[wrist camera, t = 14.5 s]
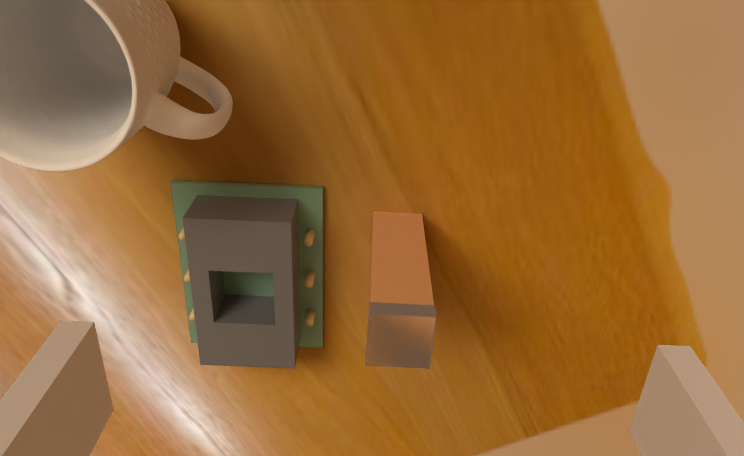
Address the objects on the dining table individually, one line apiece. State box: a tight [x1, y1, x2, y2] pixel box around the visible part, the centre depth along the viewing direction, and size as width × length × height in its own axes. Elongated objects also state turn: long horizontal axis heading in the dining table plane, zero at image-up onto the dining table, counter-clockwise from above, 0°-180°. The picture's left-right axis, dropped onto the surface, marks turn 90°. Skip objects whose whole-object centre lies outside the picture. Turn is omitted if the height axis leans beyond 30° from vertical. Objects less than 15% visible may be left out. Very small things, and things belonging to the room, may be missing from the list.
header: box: [170, 180, 323, 368], centre depth 50 cm, size 16×12×4 cm
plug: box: [366, 211, 436, 369], centre depth 44 cm, size 4×4×14 cm
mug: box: [0, 0, 233, 172], centre depth 37 cm, size 15×11×13 cm
